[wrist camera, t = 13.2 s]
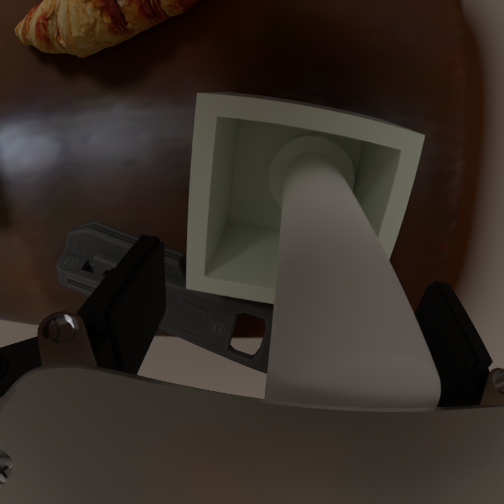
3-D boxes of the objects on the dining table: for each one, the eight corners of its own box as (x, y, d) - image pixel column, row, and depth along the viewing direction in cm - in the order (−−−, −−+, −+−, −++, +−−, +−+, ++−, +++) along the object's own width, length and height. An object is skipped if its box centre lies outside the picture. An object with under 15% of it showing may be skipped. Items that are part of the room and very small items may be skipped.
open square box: (230, 91, 24) (197, 92, 15) (378, 118, 24) (424, 135, 15) (216, 227, 30) (186, 288, 21) (347, 249, 30) (367, 317, 21)
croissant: (46, 56, 26) (4, 93, 21) (26, -14, 17) (-26, 13, 13) (224, 25, 24) (202, 53, 19) (217, -71, 15) (187, -74, 11)
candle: (362, 204, 26) (486, 522, 4) (284, 226, 28) (253, 562, 6) (340, 124, 23) (606, 394, 1) (256, 149, 25) (90, 489, 3)
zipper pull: (273, 380, 30) (49, 313, 30) (276, 336, 36) (77, 281, 36) (301, 314, 26) (36, 242, 25) (300, 271, 31) (72, 215, 31)
